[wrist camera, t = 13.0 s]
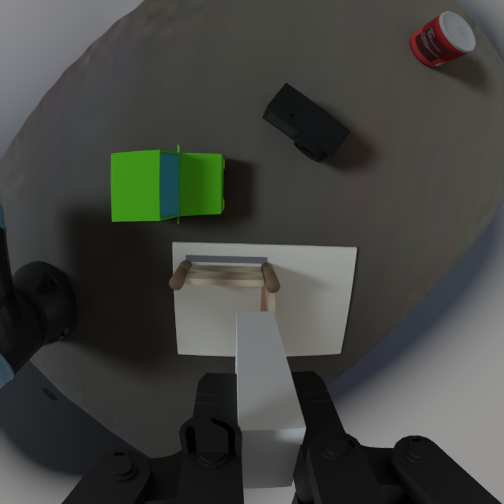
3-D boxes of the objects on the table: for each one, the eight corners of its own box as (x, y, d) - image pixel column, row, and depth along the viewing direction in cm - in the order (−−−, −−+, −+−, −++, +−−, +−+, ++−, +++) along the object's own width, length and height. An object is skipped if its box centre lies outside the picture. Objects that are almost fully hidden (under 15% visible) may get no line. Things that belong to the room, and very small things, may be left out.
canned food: (443, 47, 38) (477, 30, 27) (437, 76, 39) (474, 61, 28) (412, 25, 37) (443, 2, 26) (405, 53, 38) (438, 31, 27)
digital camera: (256, 123, 41) (260, 112, 34) (278, 96, 40) (285, 81, 33) (313, 165, 42) (327, 163, 36) (333, 138, 42) (350, 131, 35)
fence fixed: (180, 271, 44) (169, 290, 36) (179, 259, 44) (168, 276, 36) (272, 274, 45) (279, 293, 37) (273, 262, 45) (280, 279, 37)
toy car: (225, 218, 44) (221, 229, 34) (137, 219, 43) (112, 230, 33) (225, 148, 41) (223, 139, 32) (137, 151, 41) (111, 144, 31)
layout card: (178, 352, 48) (177, 354, 47) (173, 241, 44) (172, 242, 43) (339, 352, 50) (340, 354, 49) (355, 247, 45) (357, 248, 45)
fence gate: (260, 276, 45) (265, 294, 38) (273, 276, 45) (279, 293, 38) (262, 350, 48) (266, 376, 41) (273, 349, 48) (278, 375, 41)
